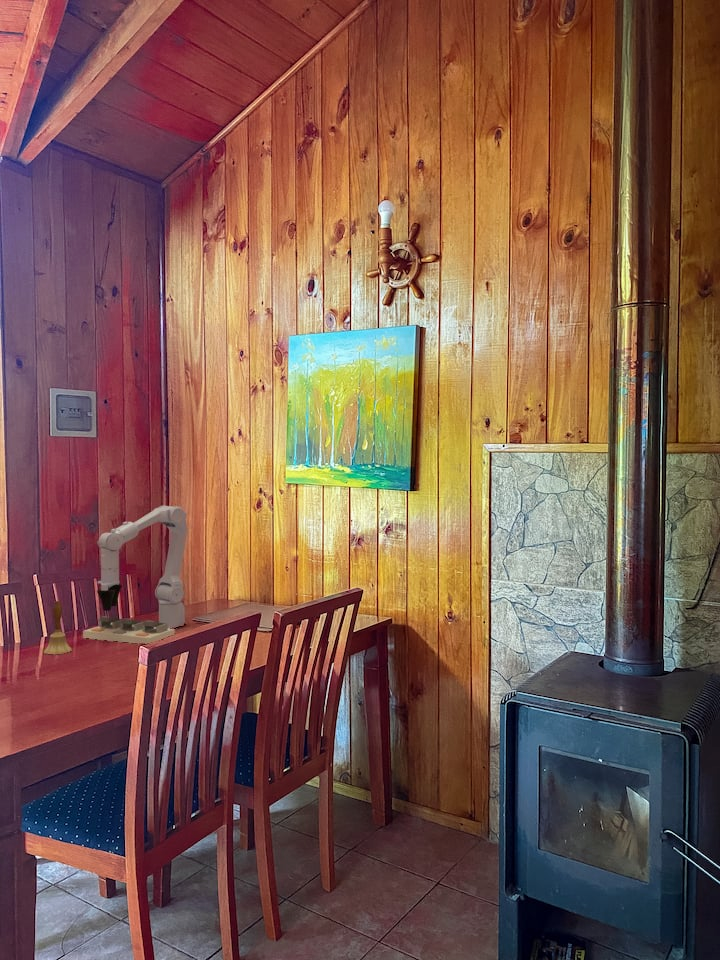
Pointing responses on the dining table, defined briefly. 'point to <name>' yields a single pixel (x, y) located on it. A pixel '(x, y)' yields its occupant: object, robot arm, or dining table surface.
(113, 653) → the dining table surface
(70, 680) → the dining table surface
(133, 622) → the rocker middle
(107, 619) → the rocker
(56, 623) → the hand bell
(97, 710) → the dining table surface
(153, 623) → the block
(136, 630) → the switch panel
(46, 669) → the dining table surface
